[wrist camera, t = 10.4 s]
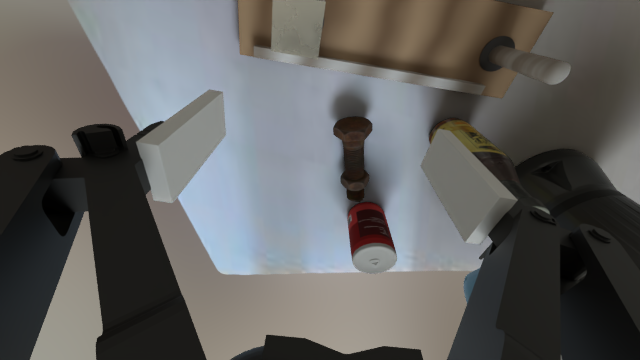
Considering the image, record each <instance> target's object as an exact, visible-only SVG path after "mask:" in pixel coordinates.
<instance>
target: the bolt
mask: <svg viewBox="0 0 640 360" xmlns="http://www.w3.org/2000/svg"><path fill="white" fill-rule="evenodd" d="M371 131H372V123H371V122H370V121H369V120H368V119H366V118H363V117H356V116H355V117H347V118H343V119H341V120H339V121H337V123H336V124H335V126H334V128H333V132H334V135H335V136H336V137H338V138H339V139H341V140H342V143H343V149H344V161H345V171H344V172H343V174H342V176H341V183H342V185H343V186H344V187H345V188H346V189H347V198H348V199H349V200H351V201H356V202H360V201H362V200H363V198H364V188H365V187H366V186H367V184H368V182H369V174H368V173H367V172H366V171H365V170H364V140H365V139H366V138H367V137H368V135H369V134H370V133H371Z"/></svg>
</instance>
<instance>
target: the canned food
mask: <svg viewBox="0 0 640 360" xmlns="http://www.w3.org/2000/svg"><path fill="white" fill-rule="evenodd" d="M348 228H349V238H350V247H351V255H352V261H353V265H354V267H355V268H356V269H358V270H359V271H361V272H364V273H370V274H372V273H374V274H375V273H381V272H384V271H387V270H389V269H390V268H392V267H393V266H394V265H395V263H396V261H397V256H396V251H395V247H394V244H393V240H392V237H391V234H390V230H389V227H388V224H387V220H386V217H385V214H384V211H383V210H382V209H381V207H380V206H378V205H377V204H375V203H371V202H363V203H359V204H357V205H355V206H354V207H353V208H352V209H351V210H350V211H349V214H348Z"/></svg>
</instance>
